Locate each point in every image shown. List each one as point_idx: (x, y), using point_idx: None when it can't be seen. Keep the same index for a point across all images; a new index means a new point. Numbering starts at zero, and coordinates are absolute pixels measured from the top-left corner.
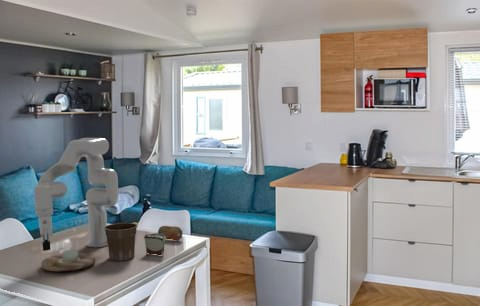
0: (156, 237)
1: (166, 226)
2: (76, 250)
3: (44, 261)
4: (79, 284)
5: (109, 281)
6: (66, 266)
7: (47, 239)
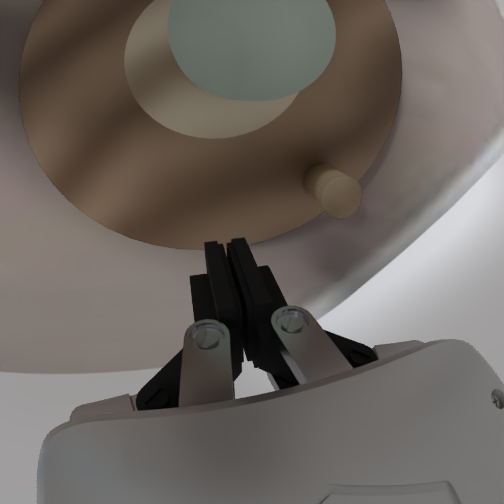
0: None
1: None
2: None
3: (191, 233)
4: (482, 90)
5: (484, 7)
6: (381, 92)
7: (368, 350)
